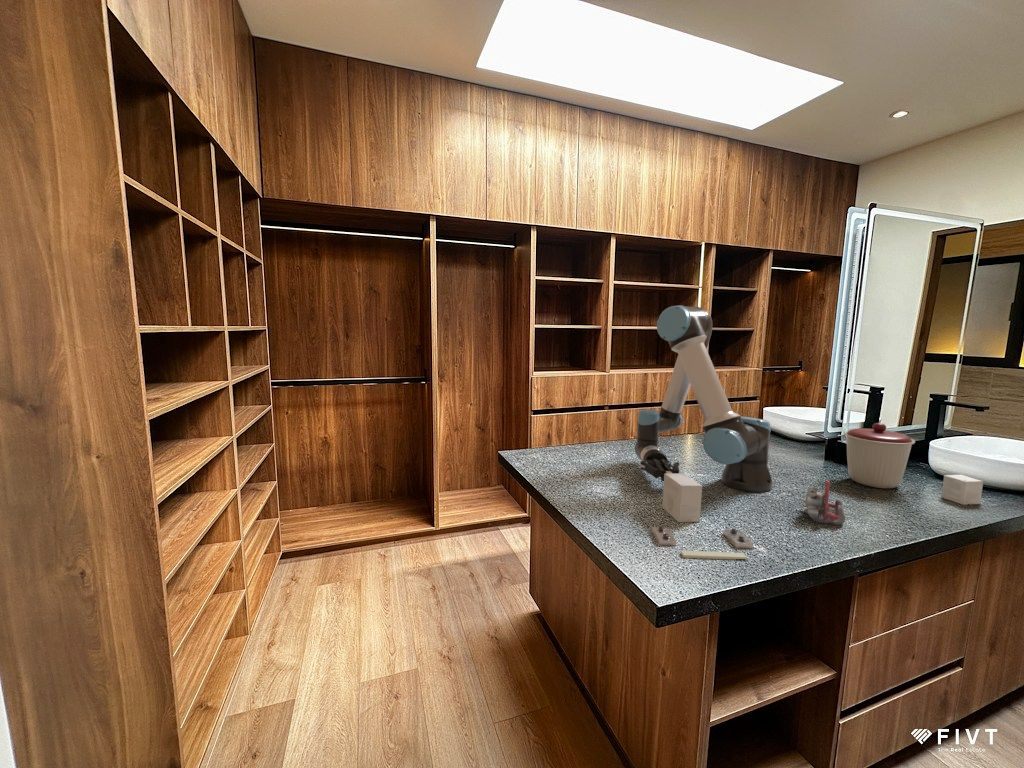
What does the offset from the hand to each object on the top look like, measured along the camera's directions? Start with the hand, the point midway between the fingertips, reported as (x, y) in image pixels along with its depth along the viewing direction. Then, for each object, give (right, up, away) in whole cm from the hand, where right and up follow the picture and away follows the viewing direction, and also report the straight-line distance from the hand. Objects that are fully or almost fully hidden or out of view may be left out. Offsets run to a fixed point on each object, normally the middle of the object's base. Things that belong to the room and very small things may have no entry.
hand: (674, 482), depth 125 cm
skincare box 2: (+90, -7, +4) cm, 90 cm away
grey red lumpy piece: (+38, -8, -8) cm, 40 cm away
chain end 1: (-10, -9, -19) cm, 24 cm away
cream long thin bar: (-2, -10, -28) cm, 30 cm away
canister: (+76, -5, +19) cm, 78 cm away
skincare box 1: (0, -8, -5) cm, 10 cm away
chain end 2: (+8, -10, -21) cm, 24 cm away
